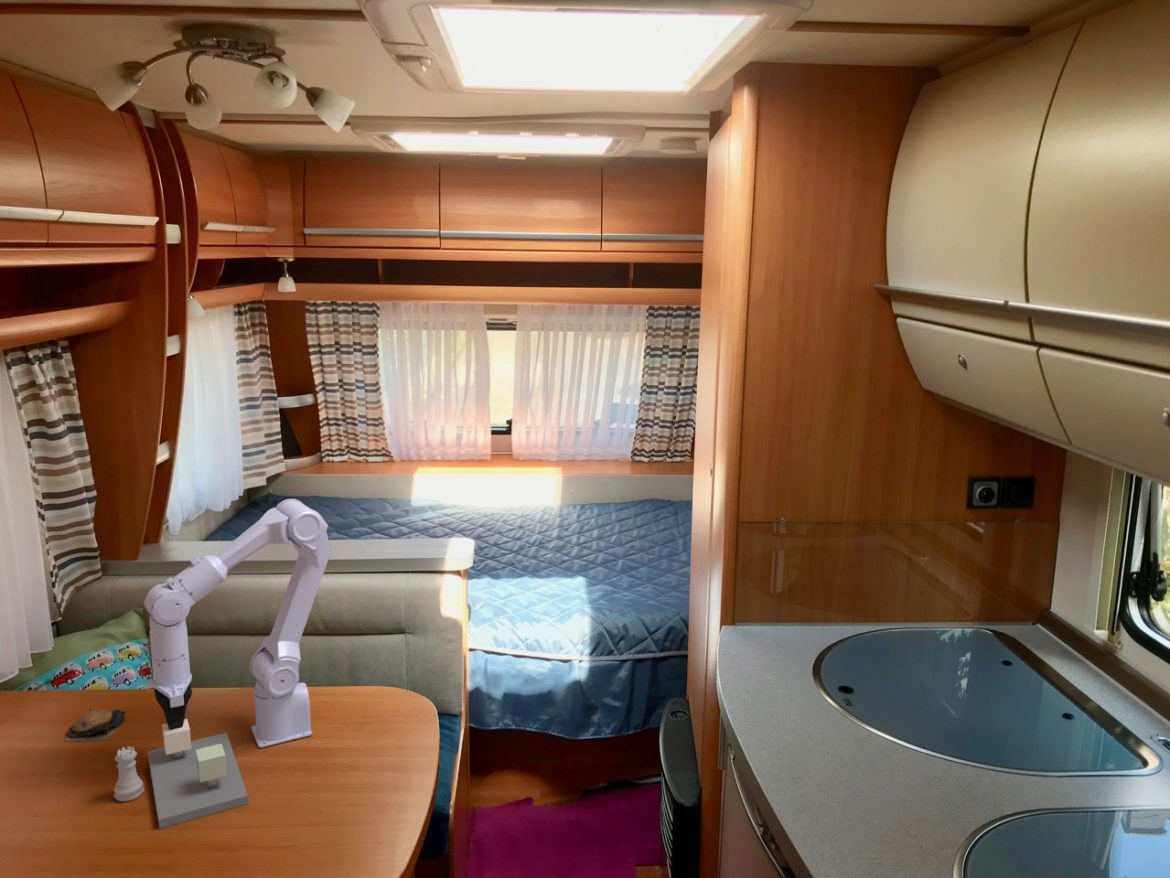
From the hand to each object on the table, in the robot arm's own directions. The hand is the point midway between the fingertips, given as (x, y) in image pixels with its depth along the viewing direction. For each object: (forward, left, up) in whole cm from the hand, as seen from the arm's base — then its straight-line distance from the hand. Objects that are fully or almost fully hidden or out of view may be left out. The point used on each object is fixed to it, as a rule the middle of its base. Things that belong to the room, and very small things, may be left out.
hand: (175, 727), depth 149 cm
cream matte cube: (0, 0, -4) cm, 4 cm away
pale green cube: (-4, +12, -3) cm, 13 cm away
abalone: (+12, -21, -8) cm, 25 cm away
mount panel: (-2, +7, -7) cm, 10 cm away
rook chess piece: (+8, +6, -7) cm, 12 cm away
